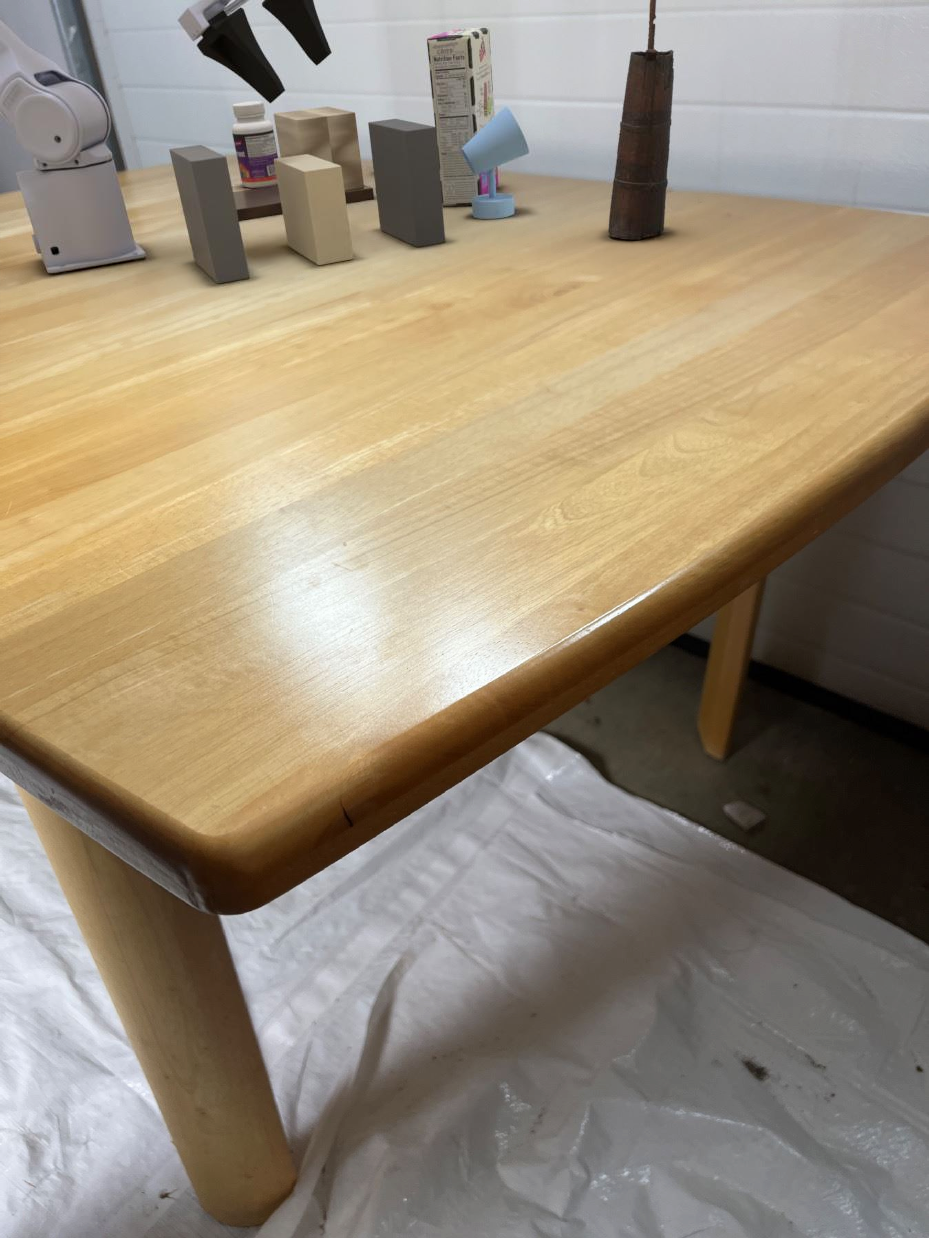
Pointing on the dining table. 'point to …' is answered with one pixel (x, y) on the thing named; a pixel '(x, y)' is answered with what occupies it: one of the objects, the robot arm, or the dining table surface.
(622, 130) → the butter churn
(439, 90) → the candy bar box
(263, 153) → the pill bottle
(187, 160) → the grey books
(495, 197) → the spotlight
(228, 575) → the dining table surface
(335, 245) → the cream book
